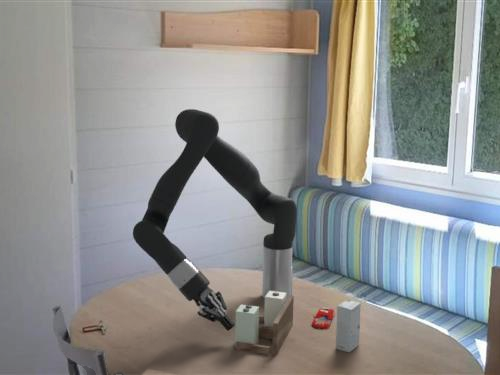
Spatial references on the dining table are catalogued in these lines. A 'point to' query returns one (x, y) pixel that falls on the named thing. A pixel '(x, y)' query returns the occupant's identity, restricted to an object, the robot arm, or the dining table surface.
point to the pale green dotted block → (247, 324)
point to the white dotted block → (273, 306)
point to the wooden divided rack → (273, 331)
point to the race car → (323, 318)
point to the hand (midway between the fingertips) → (231, 327)
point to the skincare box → (348, 325)
